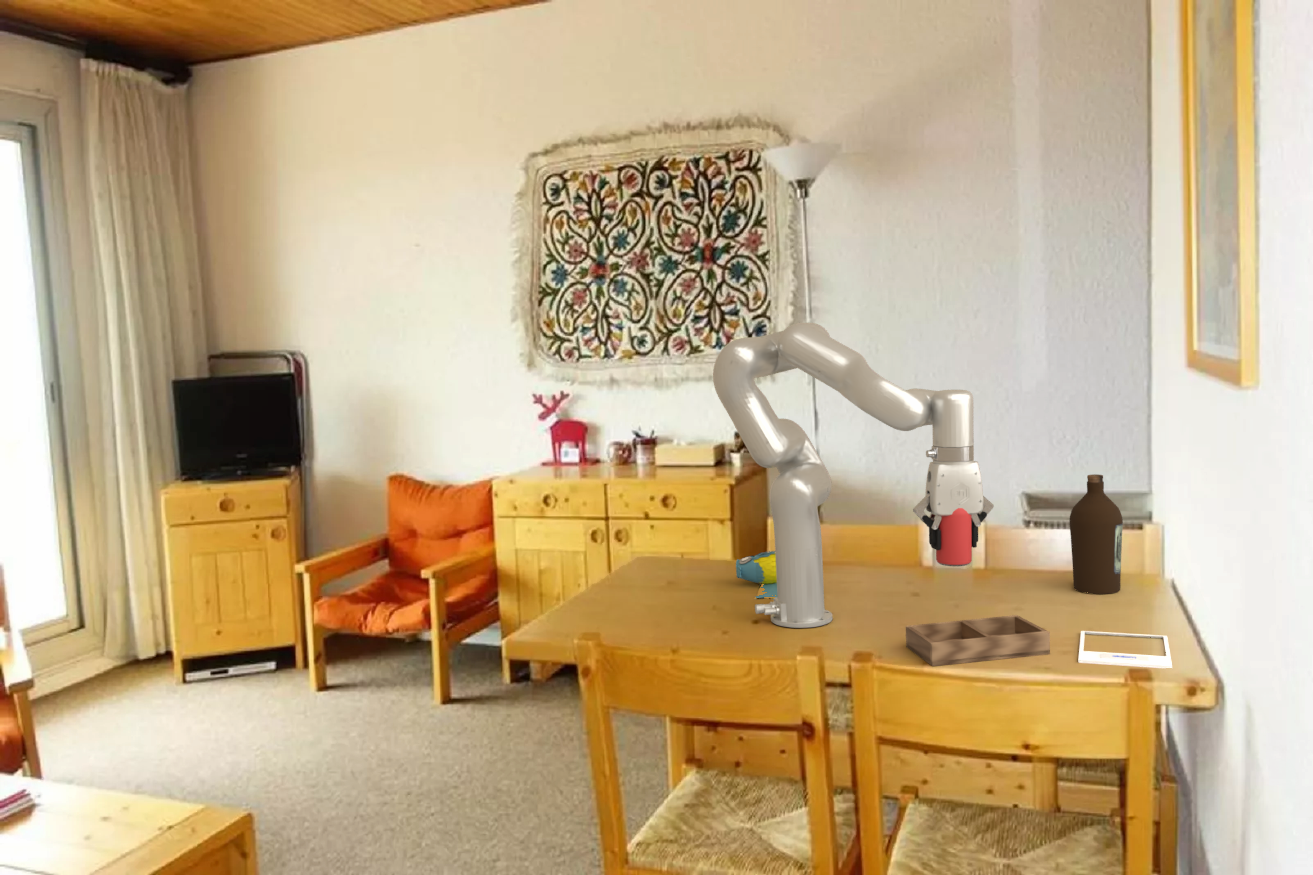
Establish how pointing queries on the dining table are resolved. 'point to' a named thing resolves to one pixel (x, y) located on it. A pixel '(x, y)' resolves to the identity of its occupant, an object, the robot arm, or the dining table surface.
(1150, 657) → the photo frame
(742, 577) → the fish figurine
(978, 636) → the crate
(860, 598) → the dining table surface
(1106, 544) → the olive oil
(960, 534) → the beer can
